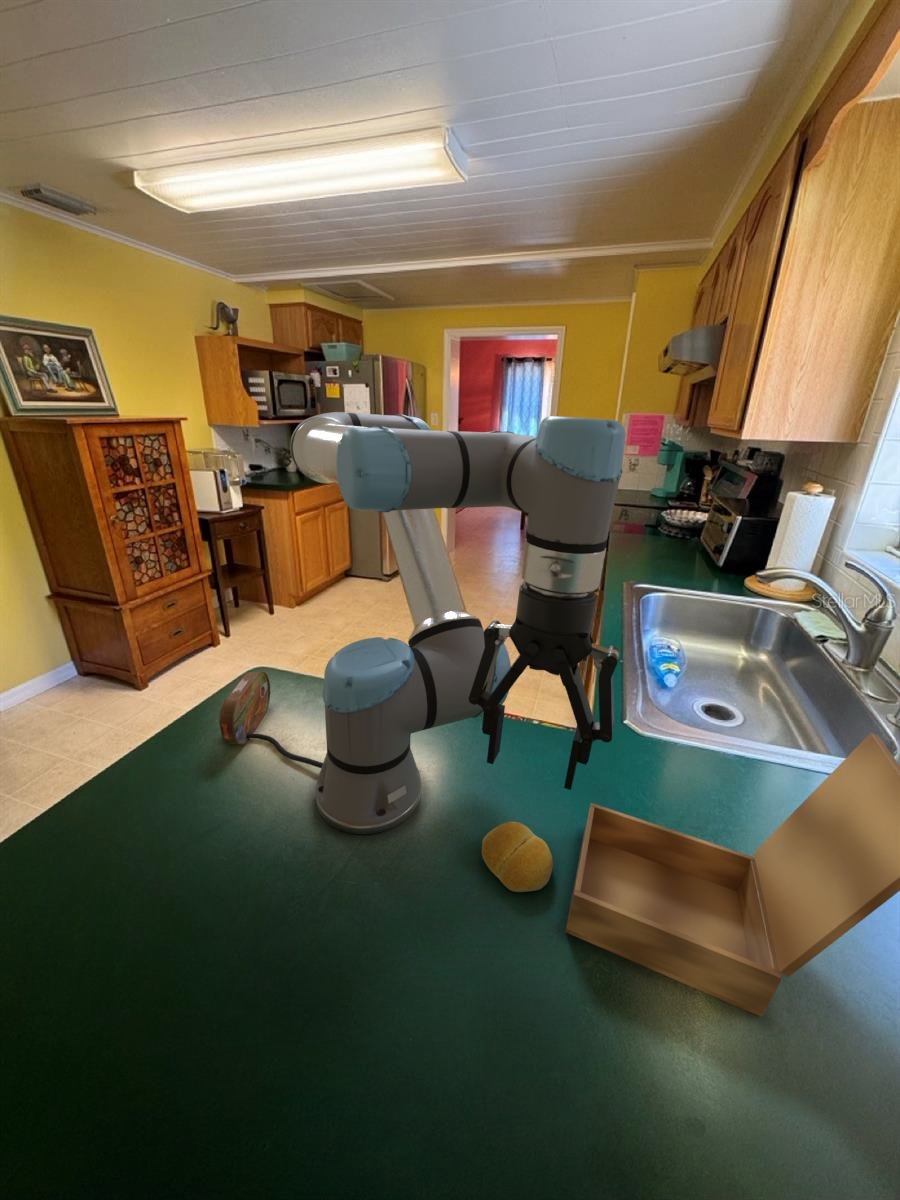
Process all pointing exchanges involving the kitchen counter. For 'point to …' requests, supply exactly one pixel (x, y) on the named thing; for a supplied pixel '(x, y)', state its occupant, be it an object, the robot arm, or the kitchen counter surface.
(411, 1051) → the kitchen counter surface
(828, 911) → the bread box lid
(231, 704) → the tin
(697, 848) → the bread box
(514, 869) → the bread roll
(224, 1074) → the kitchen counter surface
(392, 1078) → the kitchen counter surface
